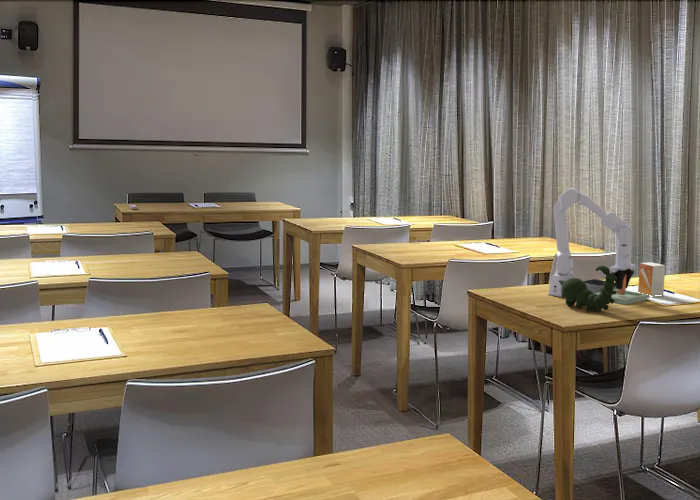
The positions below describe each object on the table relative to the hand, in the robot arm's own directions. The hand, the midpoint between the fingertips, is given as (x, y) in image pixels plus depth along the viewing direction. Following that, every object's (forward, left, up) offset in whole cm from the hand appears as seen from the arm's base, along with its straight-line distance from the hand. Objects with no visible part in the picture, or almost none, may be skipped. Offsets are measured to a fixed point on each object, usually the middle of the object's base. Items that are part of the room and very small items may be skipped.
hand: (621, 288), depth 292 cm
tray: (0, 0, -4) cm, 4 cm away
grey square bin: (+6, +16, -4) cm, 18 cm away
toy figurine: (-26, -3, -5) cm, 27 cm away
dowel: (0, 0, -2) cm, 2 cm away
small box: (+17, -2, -5) cm, 18 cm away
